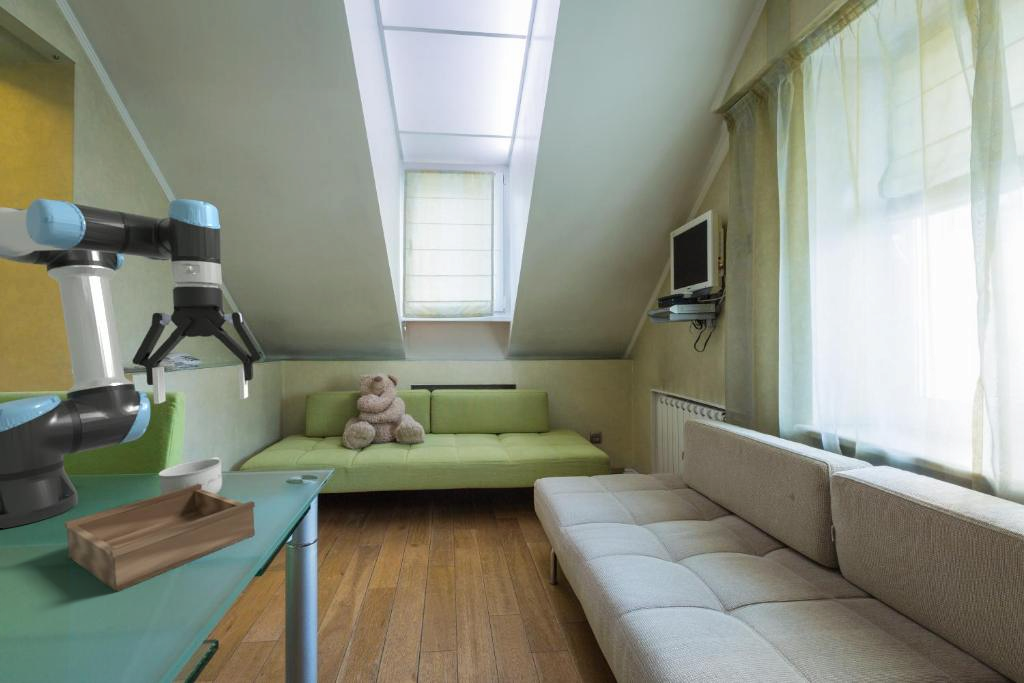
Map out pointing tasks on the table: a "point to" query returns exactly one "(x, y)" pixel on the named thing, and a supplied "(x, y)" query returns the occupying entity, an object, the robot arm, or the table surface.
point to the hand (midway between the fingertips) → (203, 400)
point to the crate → (156, 534)
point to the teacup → (193, 476)
